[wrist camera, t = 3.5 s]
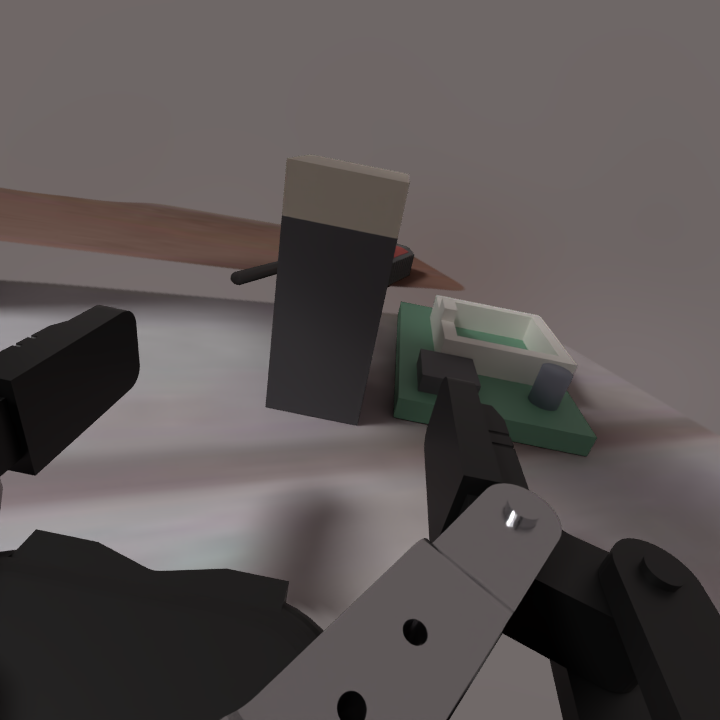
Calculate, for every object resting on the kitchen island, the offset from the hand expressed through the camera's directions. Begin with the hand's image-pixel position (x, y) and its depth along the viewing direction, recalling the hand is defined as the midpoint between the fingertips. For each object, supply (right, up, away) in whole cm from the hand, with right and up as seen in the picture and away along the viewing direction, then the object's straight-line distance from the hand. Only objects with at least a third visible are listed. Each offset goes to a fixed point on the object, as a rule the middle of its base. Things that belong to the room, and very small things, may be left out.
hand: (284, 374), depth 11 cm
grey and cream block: (0, -1, +11) cm, 11 cm away
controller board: (+9, 0, +17) cm, 19 cm away
